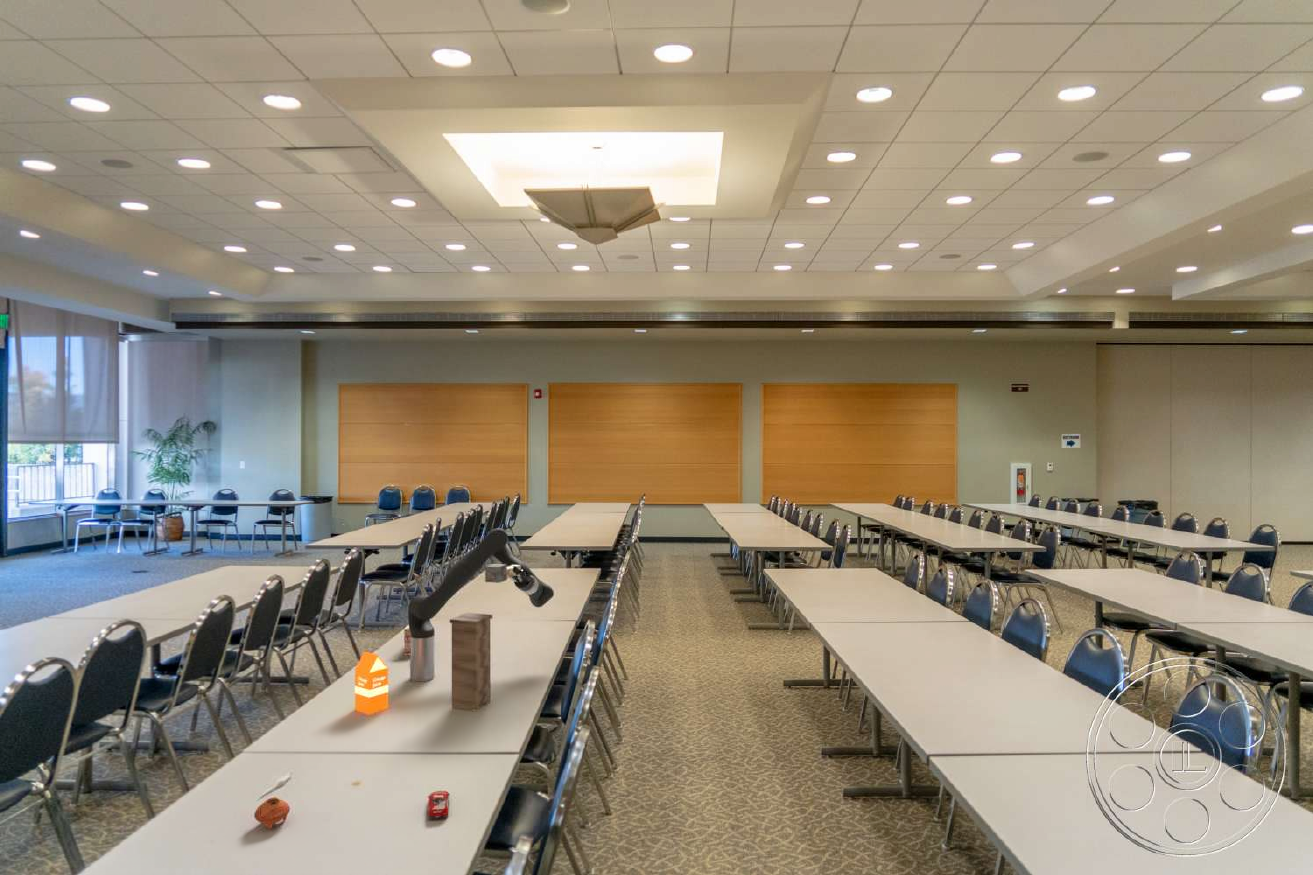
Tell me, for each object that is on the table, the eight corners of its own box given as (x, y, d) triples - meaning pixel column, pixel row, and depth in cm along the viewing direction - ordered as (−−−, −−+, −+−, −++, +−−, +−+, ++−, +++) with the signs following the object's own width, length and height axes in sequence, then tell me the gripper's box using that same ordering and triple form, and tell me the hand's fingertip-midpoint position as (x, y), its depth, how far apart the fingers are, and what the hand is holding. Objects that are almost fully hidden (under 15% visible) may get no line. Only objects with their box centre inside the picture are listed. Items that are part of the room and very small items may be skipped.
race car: (429, 799, 205) (429, 784, 205) (450, 797, 206) (450, 782, 206) (425, 823, 192) (425, 807, 192) (448, 820, 193) (448, 804, 193)
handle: (510, 573, 311) (510, 558, 312) (523, 573, 310) (523, 559, 310) (485, 581, 292) (485, 566, 292) (499, 582, 291) (499, 567, 291)
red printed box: (414, 643, 363) (414, 617, 363) (428, 643, 364) (428, 617, 364) (404, 655, 342) (404, 628, 342) (418, 655, 342) (418, 628, 342)
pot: (282, 811, 197) (285, 787, 196) (292, 829, 191) (295, 805, 190) (248, 821, 191) (251, 796, 190) (257, 840, 186) (260, 815, 185)
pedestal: (466, 698, 284) (466, 612, 284) (492, 701, 281) (492, 614, 281) (449, 708, 273) (449, 619, 274) (476, 711, 270) (476, 621, 270)
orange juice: (373, 703, 279) (373, 648, 279) (388, 708, 274) (388, 652, 274) (354, 709, 273) (354, 653, 273) (369, 714, 268) (369, 657, 268)
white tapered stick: (287, 776, 219) (287, 769, 218) (296, 777, 218) (296, 770, 218) (252, 803, 204) (251, 796, 204) (260, 804, 203) (260, 797, 203)
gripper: (513, 573, 322) (495, 558, 308) (543, 575, 318) (527, 560, 304) (509, 590, 319) (491, 576, 305) (539, 592, 315) (522, 577, 300)
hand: (509, 568), depth 304 cm, fingers closed on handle, 3 cm apart
